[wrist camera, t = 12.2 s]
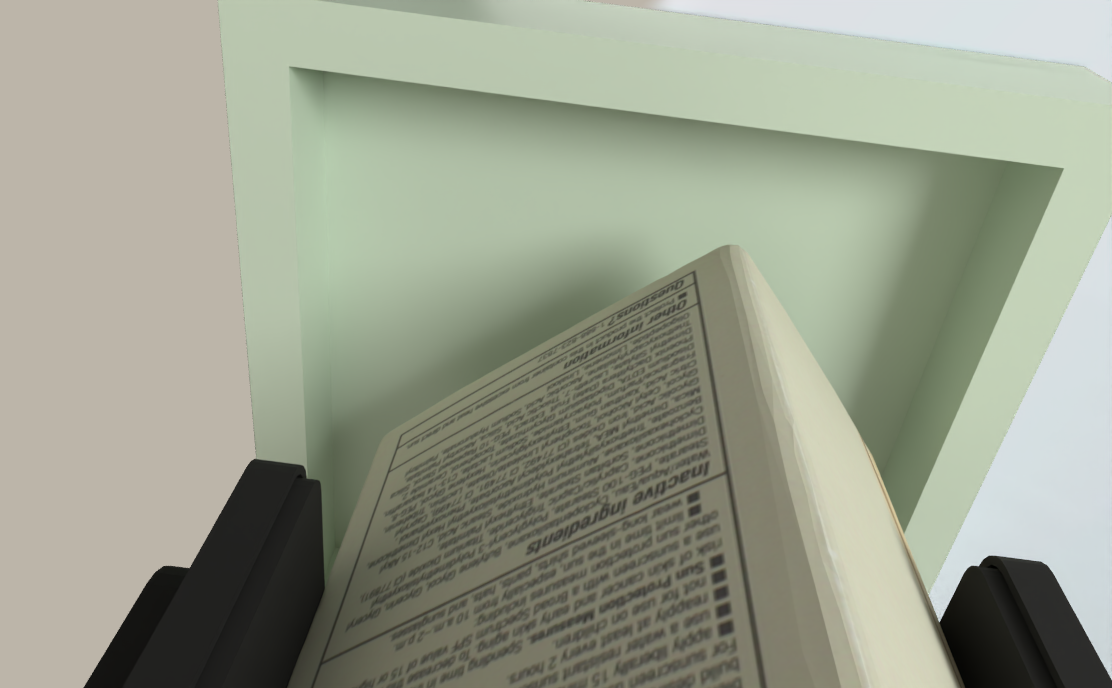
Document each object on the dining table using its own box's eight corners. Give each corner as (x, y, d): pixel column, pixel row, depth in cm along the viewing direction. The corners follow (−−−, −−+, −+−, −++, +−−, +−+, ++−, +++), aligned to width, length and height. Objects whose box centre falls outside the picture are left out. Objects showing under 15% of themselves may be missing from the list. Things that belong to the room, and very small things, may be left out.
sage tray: (1085, 66, 12) (1162, 111, 10) (850, 620, 18) (874, 706, 16) (274, -41, 12) (215, -14, 10) (304, 550, 18) (270, 629, 16)
